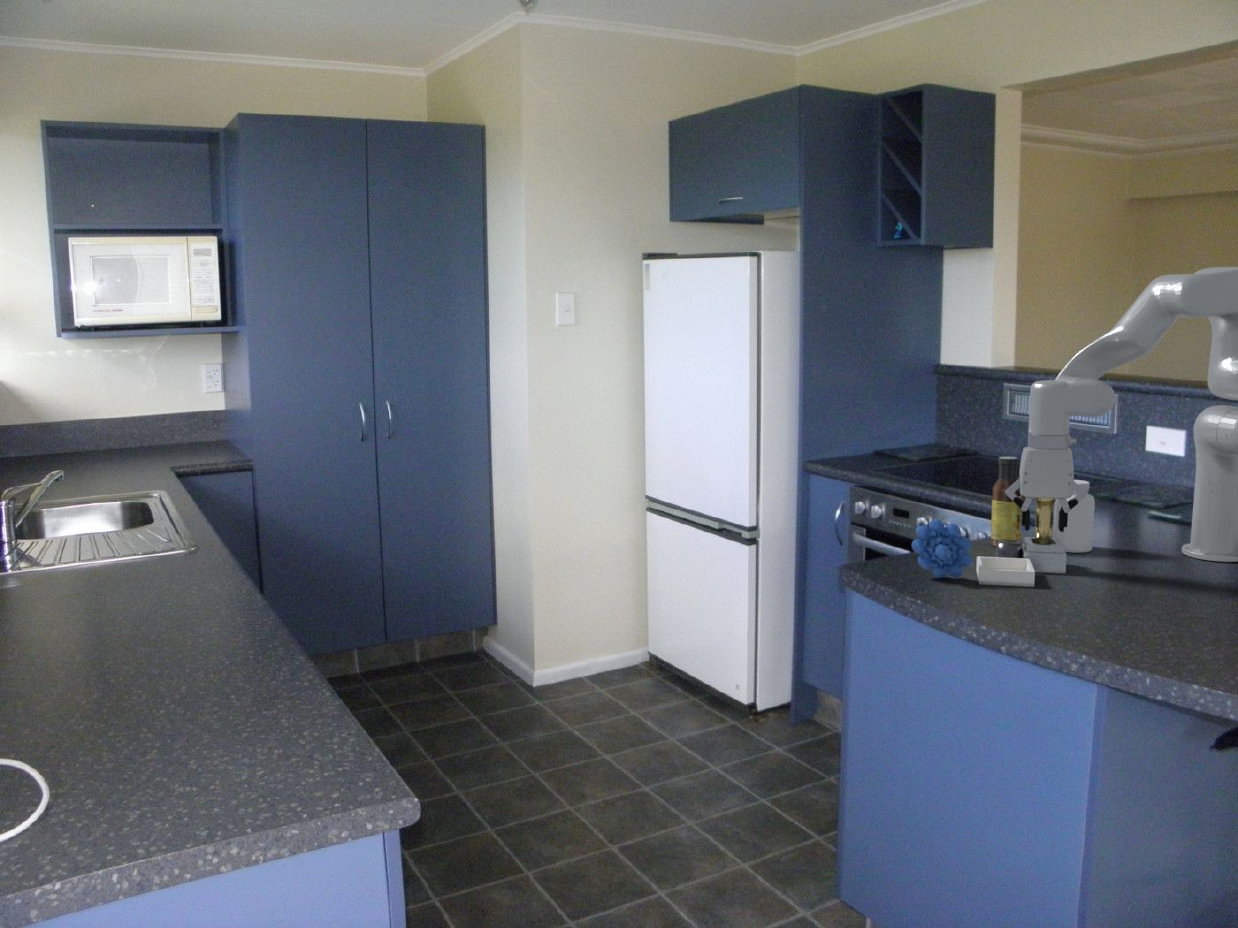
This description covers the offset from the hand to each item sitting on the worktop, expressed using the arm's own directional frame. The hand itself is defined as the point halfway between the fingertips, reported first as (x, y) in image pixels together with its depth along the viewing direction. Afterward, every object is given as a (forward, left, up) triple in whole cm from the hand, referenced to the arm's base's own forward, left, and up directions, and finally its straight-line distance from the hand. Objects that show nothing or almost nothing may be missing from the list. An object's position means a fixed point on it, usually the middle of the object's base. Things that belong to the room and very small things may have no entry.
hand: (1043, 529), depth 214 cm
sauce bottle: (+6, -17, -8) cm, 20 cm away
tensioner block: (+2, 0, -8) cm, 8 cm away
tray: (+8, +10, -8) cm, 15 cm away
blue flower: (+20, +13, -8) cm, 25 cm away
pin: (0, 0, -4) cm, 4 cm away
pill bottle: (-8, -17, -8) cm, 21 cm away
